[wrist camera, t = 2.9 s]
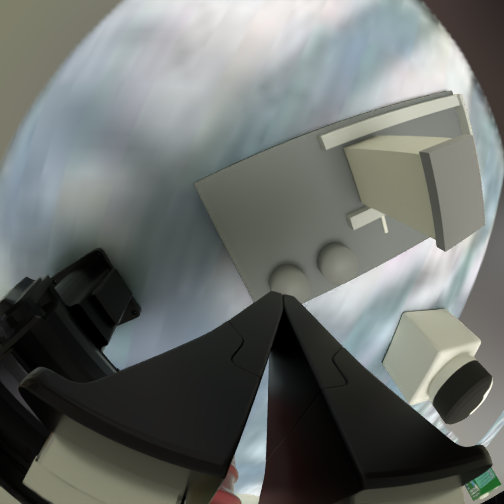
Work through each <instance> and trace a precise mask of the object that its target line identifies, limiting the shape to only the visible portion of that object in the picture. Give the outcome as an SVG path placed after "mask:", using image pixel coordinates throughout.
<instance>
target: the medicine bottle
mask: <svg viewBox="0 0 504 504" xmlns="http://www.w3.org/2000/svg"><path fill="white" fill-rule="evenodd" d="M480 344H481V341H480V339H479V338H478V337H477V336H476V335H475V334H473V333H472V332H471V331H470V330H469V329H468V328H467V327H466V326H464V325H463V324H462V323H461V322H460V321H459V320H458V319H457V318H456V317H455V316H453V315H452V314H451V313H450V312H449V311H448V310H446V309H437V310H426V311H414V312H405V313H403V315H402V317H401V320H400V322H399V325H398V328H397V330H396V333H395V335H394V337H393V340H392V342H391V345H390V347H389V349H388V352H387V354H386V356H385V358H384V360H383V363H382V364H383V366H384V367H385V369H386V370H387V372H388V373H389V375H390V376H391V378H392V379H393V381H394V382H395V384H396V385H397V387H398V388H399V390H400V391H401V393H402V394H403V396H404V397H405V399H406V400H407V402H408V403H409V404H410V405H414V404H417V403H420V402H423V401H426V400H430V402H431V403H432V405H433V406H434V408H435V409H436V410H437V412H438V413H439V415H440V416H441V418H442V419H443V421H444V422H445V423H446V424H454V423H457V422H459V421H461V420H463V419H465V418H466V417H468V416H469V415H470V414H472V413H473V411H475V410H476V409H477V408H478V407H479V406H480V404H482V402H483V401H484V400H485V398H486V397H487V395H488V393H489V391H490V389H491V387H492V383H493V378H492V376H491V375H490V374H489V373H488V372H487V371H486V369H485V368H484V367H483V366H482V365H481V364H480V363H479V362H478V361H477V360H476V359H475V358H474V355H475V353H476V351H477V350H478V348H479V345H480Z"/></svg>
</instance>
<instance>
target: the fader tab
mask: <svg viewBox="0 0 504 504" xmlns="http://www.w3.org/2000/svg"><path fill="white" fill-rule="evenodd" d="M344 151H345V154H346V156H347V159H348V162H349V165H350V168H351V171H352V174H353V177H354V180H355V183H356V186H357V189H358V192H359V196H360V199H361V202H362V204H364V205H366V206H368V207H371V208H373V209H375V210H377V211H379V212H381V213H383V214H386V215H388V216H390V217H392V218H394V219H396V220H398V221H400V222H402V223H404V224H406V225H408V226H410V227H412V228H414V229H416V230H418V231H420V232H422V233H424V234H426V235H427V236H429V237H431V238H433V239H435V240H436V245H437V247H438V248H440V249H441V250H443V251H445V252H446V251H447V250H449V249H450V248H452V247H453V246H455V245H456V244H458V243H460V242H461V241H462V240H464V239H465V238H467V237H468V236H470V235H471V234H473V233H474V232H476V231H477V230H478V229H480V228H481V227H483V226H484V225H485V217H484V204H483V193H482V185H481V177H480V171H479V164H478V158H477V153H476V148H475V143H474V138H473V135H466V134H463V135H460V136H457V137H455V138H443V137H425V136H374V137H371V138H369V139H366V140H363V141H361V142H358V143H355V144H352V145H350V146H347V147H345V148H344Z"/></svg>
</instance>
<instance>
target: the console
mask: <svg viewBox="0 0 504 504" xmlns="http://www.w3.org/2000/svg"><path fill="white" fill-rule="evenodd" d="M463 134H466V135H473V133H472V129H471V124H470V121H469V117H468V113H467V109H466V106H465V103H464V99H463V96H462V94H455V95H453V93H452V91H445V92H440V93H436V94H432V95H428V96H424V97H420V98H416V99H412V100H408V101H405V102H401V103H397V104H394V105H390V106H387V107H383V108H380V109H377V110H374V111H370V112H367V113H364V114H361V115H358V116H355V117H352V118H349V119H346V120H343V121H340V122H337V123H334V124H331V125H328V126H326V127H323V128H320V129H317V130H315V131H312V132H309V133H307V134H304V135H301V136H299V137H296V138H294V139H291V140H289V141H286V142H284V143H281V144H279V145H276V146H274V147H272V148H269V149H267V150H264V151H262V152H260V153H257V154H255V155H253V156H250V157H248V158H246V159H244V160H241V161H239V162H237V163H235V164H233V165H230V166H228V167H226V168H224V169H222V170H220V171H217V172H215V173H213V174H211V175H209V176H207V177H205V178H203V179H201V180H199V181H197V182H195V183H194V186H195V188H196V190H197V192H198V194H199V196H200V198H201V200H202V202H203V204H204V206H205V208H206V210H207V212H208V214H209V216H210V218H211V220H212V222H213V224H214V226H215V228H216V230H217V232H218V234H219V236H220V238H221V240H222V242H223V244H224V246H225V247H226V249H227V251H228V253H229V255H230V257H231V259H232V261H233V263H234V265H235V267H236V269H237V271H238V273H239V275H240V276H241V278H242V280H243V282H244V284H245V286H246V288H247V290H248V292H249V294H250V296H251V297H252V299H253V301H254V302H256V301H257V300H259V299H260V298H261V297H263V296H264V295H266V294H267V293H268V292H270V291H275V292H279V293H281V294H282V295H283V294H287V295H291V296H294V297H295V298H296V299H297V300H298V301H299V302H300V303H301V304H302V303H304V302H307V301H309V300H311V299H313V298H315V297H317V296H319V295H321V294H323V293H326V292H328V291H330V290H332V289H334V288H336V287H338V286H340V285H342V284H344V283H346V282H348V281H350V280H352V279H354V278H356V277H358V276H360V275H362V274H364V273H366V272H368V271H369V270H371V269H373V268H375V267H377V266H379V265H381V264H383V263H385V262H386V261H388V260H390V259H392V258H394V257H396V256H397V255H399V254H401V253H403V252H405V251H407V250H408V249H410V248H412V247H414V246H415V245H417V244H419V243H421V242H422V241H424V240H426V239H428V238H429V236H427V235H426V234H424V233H422V232H420V231H418V230H416V229H414V228H412V227H410V226H408V225H406V224H404V223H402V222H400V221H398V220H396V219H394V218H392V217H390V216H388V215H386V214H383V213H381V212H379V211H377V210H375V209H373V208H371V207H368V206H366V205H364V204H362V202H361V199H360V196H359V192H358V189H357V186H356V183H355V180H354V177H353V174H352V171H351V168H350V165H349V162H348V159H347V156H346V154H345V151H344V148H345V147H347V146H350V145H352V144H355V143H358V142H361V141H363V140H366V139H369V138H371V137H374V136H425V137H443V138H455V137H457V136H460V135H463ZM473 138H474V137H473ZM474 143H475V142H474ZM475 148H476V147H475ZM476 153H477V152H476ZM477 158H478V157H477ZM478 164H479V163H478Z"/></svg>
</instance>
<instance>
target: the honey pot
mask: <svg viewBox="0 0 504 504" xmlns="http://www.w3.org/2000/svg"><path fill="white" fill-rule="evenodd" d="M235 495H236V496H238V497H239V498H240V500H241V502H242V504H258V502H259V497H257V496H254V495H248V494H235Z"/></svg>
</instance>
